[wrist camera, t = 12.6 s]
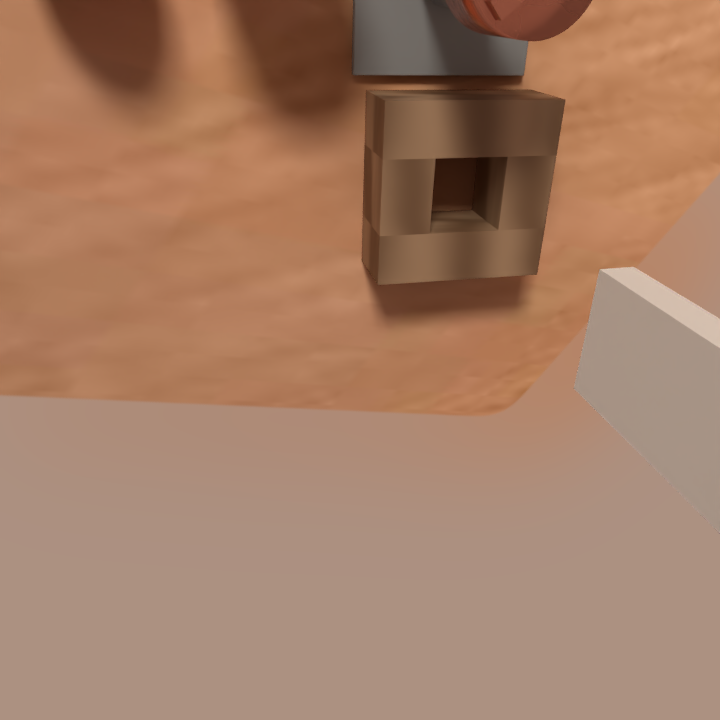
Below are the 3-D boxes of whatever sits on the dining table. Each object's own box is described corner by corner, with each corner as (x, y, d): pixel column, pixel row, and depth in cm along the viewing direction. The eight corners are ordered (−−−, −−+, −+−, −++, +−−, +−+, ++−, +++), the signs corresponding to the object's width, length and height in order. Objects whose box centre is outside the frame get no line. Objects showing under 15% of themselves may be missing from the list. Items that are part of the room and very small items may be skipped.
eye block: (361, 260, 50) (377, 285, 46) (366, 90, 44) (385, 100, 40) (508, 251, 53) (536, 274, 48) (531, 89, 47) (565, 99, 43)
